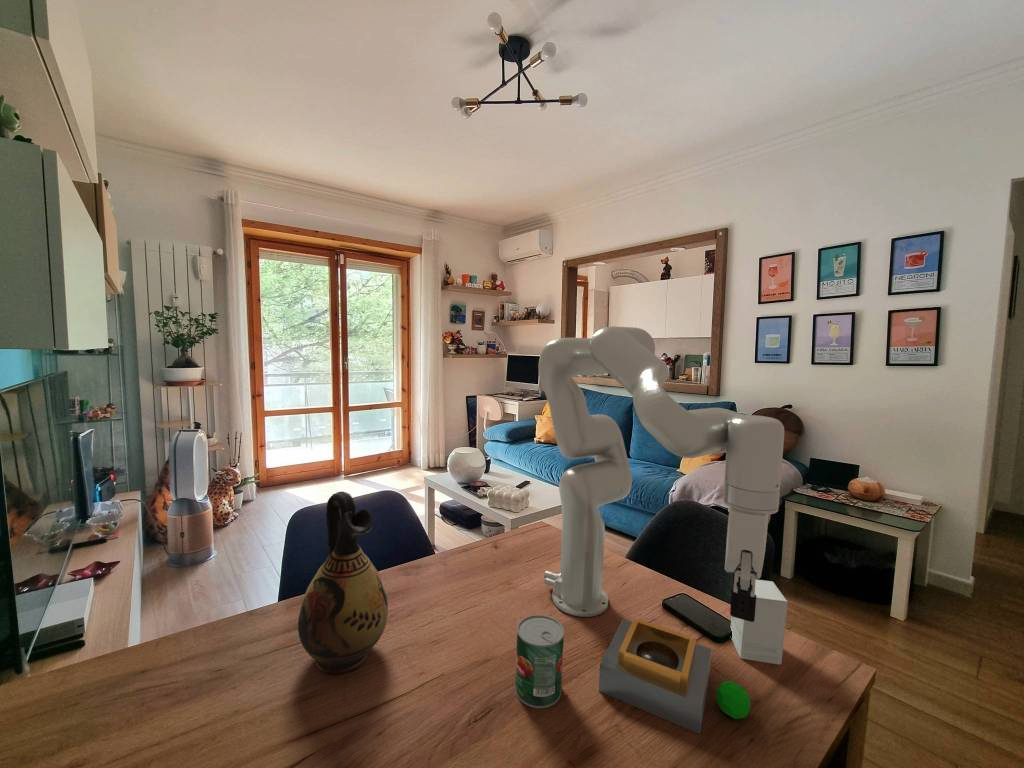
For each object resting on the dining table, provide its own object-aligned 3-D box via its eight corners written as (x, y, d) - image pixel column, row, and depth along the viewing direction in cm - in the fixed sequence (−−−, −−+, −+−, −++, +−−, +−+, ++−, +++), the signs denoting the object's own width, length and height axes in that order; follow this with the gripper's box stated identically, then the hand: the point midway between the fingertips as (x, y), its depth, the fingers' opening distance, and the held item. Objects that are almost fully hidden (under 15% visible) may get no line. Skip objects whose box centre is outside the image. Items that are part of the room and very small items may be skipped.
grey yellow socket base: (598, 691, 75) (600, 652, 74) (625, 634, 90) (627, 601, 89) (700, 734, 68) (703, 692, 67) (711, 664, 82) (713, 629, 82)
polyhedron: (716, 695, 75) (719, 669, 75) (749, 708, 73) (752, 682, 72) (713, 717, 71) (715, 689, 70) (748, 731, 68) (750, 703, 68)
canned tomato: (505, 685, 76) (507, 625, 75) (540, 665, 81) (542, 608, 80) (535, 717, 70) (538, 652, 69) (571, 694, 74) (574, 633, 73)
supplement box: (782, 666, 82) (789, 602, 81) (739, 659, 84) (745, 596, 82) (768, 639, 90) (774, 580, 88) (728, 633, 91) (733, 575, 90)
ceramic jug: (404, 654, 82) (405, 499, 79) (322, 703, 71) (318, 524, 68) (359, 613, 94) (358, 476, 91) (282, 650, 83) (277, 495, 79)
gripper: (726, 477, 77) (720, 571, 79) (719, 509, 62) (712, 624, 64) (776, 485, 74) (769, 582, 76) (781, 520, 59) (772, 641, 60)
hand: (742, 601), depth 70 cm, fingers open, 9 cm apart
